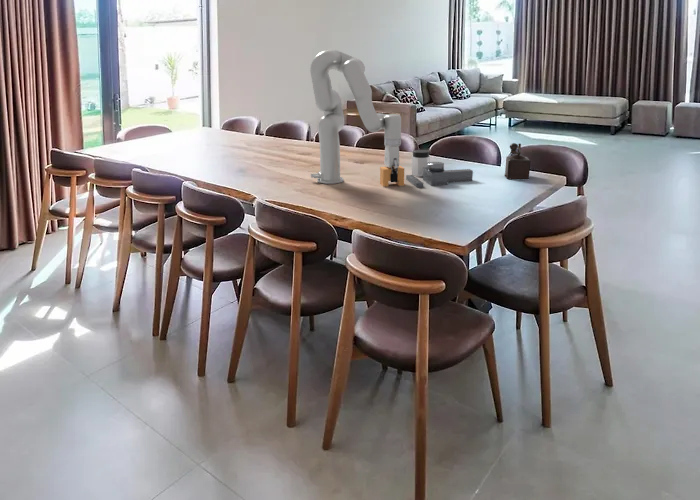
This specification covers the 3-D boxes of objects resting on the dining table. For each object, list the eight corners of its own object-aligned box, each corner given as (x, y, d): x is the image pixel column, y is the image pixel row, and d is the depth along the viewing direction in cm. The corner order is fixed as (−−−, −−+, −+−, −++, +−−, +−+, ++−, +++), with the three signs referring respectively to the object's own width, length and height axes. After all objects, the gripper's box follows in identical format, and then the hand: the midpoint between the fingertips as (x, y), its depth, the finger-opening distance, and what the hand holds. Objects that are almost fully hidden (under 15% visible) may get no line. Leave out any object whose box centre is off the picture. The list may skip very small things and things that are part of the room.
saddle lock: (383, 186, 292) (383, 169, 289) (380, 183, 297) (380, 166, 295) (404, 185, 293) (404, 168, 291) (400, 182, 299) (400, 165, 296)
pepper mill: (503, 174, 313) (505, 138, 307) (525, 175, 312) (528, 138, 306) (507, 182, 298) (510, 144, 292) (531, 182, 297) (534, 144, 291)
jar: (427, 173, 318) (428, 149, 314) (431, 176, 311) (431, 152, 307) (410, 173, 317) (410, 149, 313) (413, 177, 310) (413, 152, 306)
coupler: (417, 187, 289) (417, 168, 286) (406, 179, 305) (406, 160, 302) (477, 184, 294) (478, 165, 291) (463, 176, 311) (464, 158, 308)
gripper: (380, 139, 296) (379, 176, 302) (389, 145, 280) (388, 185, 286) (395, 138, 297) (395, 176, 303) (405, 144, 281) (404, 184, 287)
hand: (392, 180), depth 295 cm, fingers closed on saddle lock, 6 cm apart
